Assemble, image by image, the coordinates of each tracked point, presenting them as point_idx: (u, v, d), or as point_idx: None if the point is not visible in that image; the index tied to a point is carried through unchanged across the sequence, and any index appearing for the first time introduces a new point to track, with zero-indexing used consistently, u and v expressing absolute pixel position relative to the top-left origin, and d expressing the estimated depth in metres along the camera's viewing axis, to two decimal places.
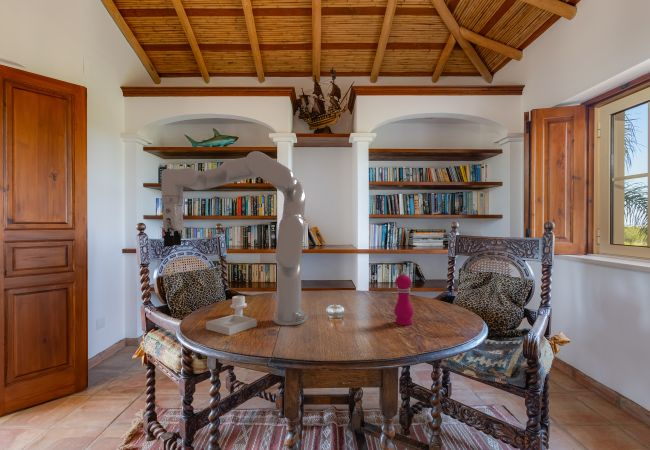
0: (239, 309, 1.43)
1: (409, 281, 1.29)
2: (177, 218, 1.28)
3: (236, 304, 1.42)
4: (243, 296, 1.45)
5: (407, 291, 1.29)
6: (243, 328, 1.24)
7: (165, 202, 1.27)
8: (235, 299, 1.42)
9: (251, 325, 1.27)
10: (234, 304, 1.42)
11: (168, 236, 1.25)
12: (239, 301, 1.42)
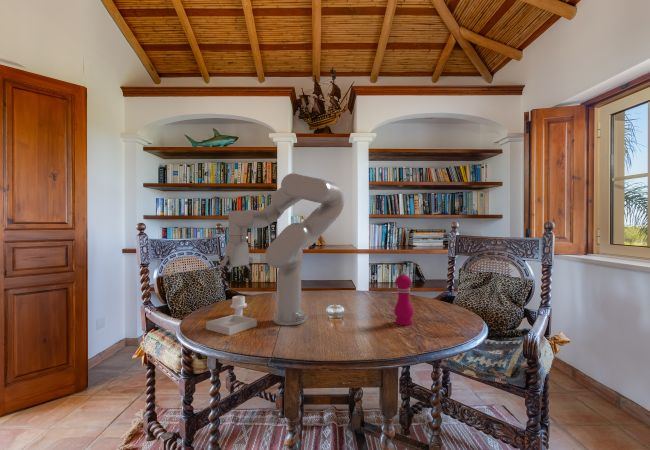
0: (239, 309, 1.43)
1: (409, 281, 1.29)
2: None
3: (236, 304, 1.42)
4: (243, 296, 1.45)
5: (407, 291, 1.29)
6: (243, 328, 1.24)
7: None
8: (235, 299, 1.42)
9: (251, 325, 1.27)
10: (234, 304, 1.42)
11: None
12: (239, 301, 1.42)
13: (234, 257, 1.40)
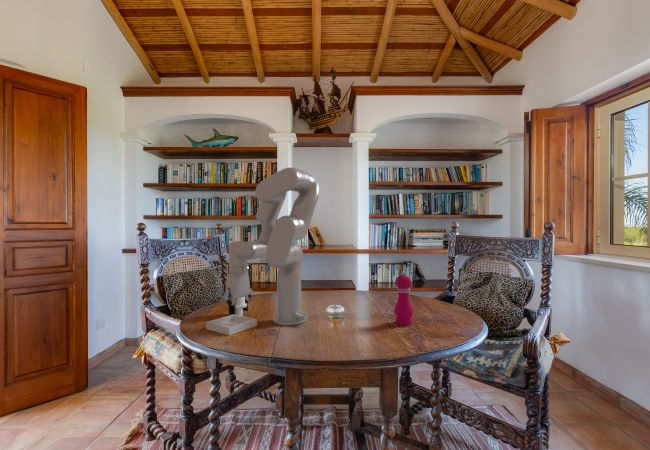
0: (239, 309, 1.43)
1: (409, 281, 1.29)
2: None
3: (236, 304, 1.42)
4: None
5: (407, 291, 1.29)
6: (243, 328, 1.24)
7: None
8: (235, 299, 1.42)
9: (251, 325, 1.27)
10: (234, 304, 1.42)
11: None
12: (239, 301, 1.42)
13: (235, 288, 1.40)
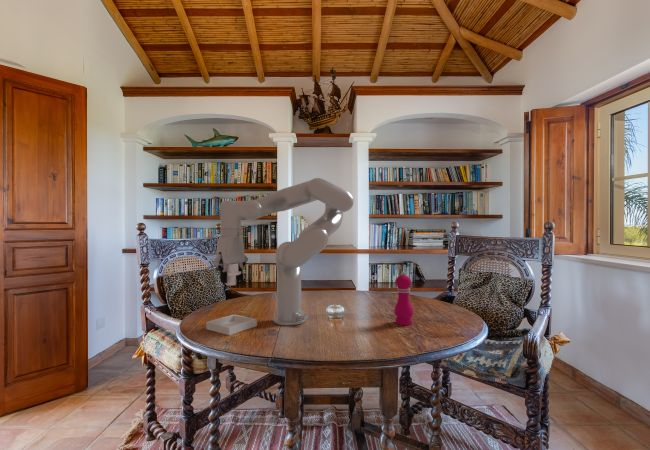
0: (232, 277, 1.26)
1: (409, 281, 1.29)
2: None
3: (228, 271, 1.25)
4: (236, 263, 1.29)
5: (407, 291, 1.29)
6: (243, 328, 1.24)
7: None
8: None
9: (251, 325, 1.27)
10: (226, 271, 1.26)
11: None
12: (232, 268, 1.26)
13: (226, 253, 1.24)
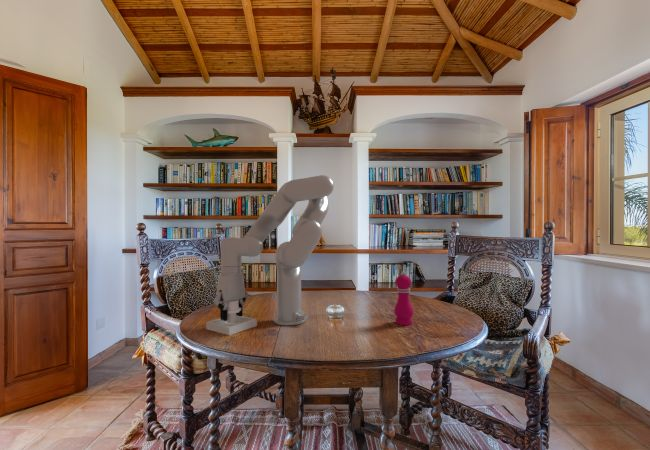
0: (232, 314, 1.26)
1: (409, 281, 1.29)
2: None
3: (228, 309, 1.25)
4: None
5: (407, 291, 1.29)
6: (243, 328, 1.24)
7: None
8: None
9: (251, 325, 1.27)
10: (226, 309, 1.25)
11: None
12: (232, 305, 1.25)
13: (227, 291, 1.23)
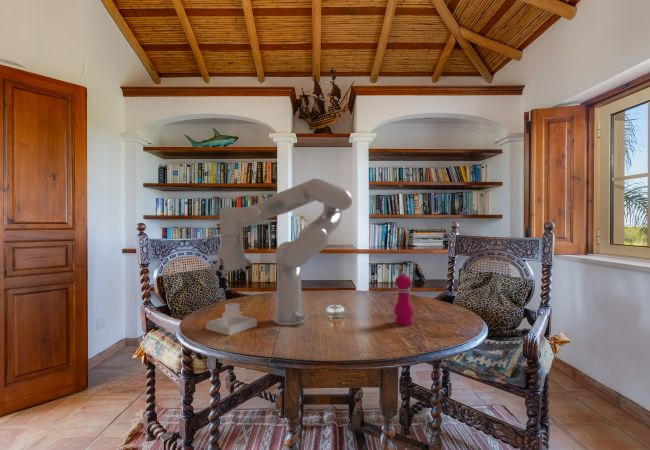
0: (232, 318, 1.26)
1: (409, 281, 1.29)
2: None
3: (229, 313, 1.25)
4: (237, 304, 1.28)
5: (407, 291, 1.29)
6: (243, 328, 1.24)
7: None
8: (228, 307, 1.25)
9: (251, 325, 1.27)
10: (227, 313, 1.25)
11: None
12: (232, 309, 1.25)
13: (227, 260, 1.23)
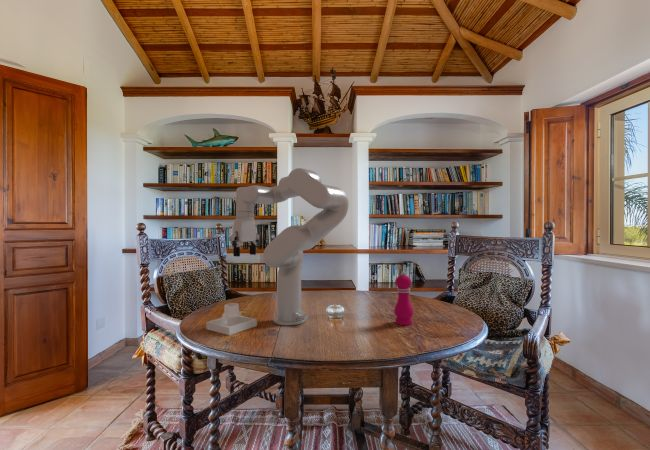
0: (232, 319, 1.26)
1: (409, 281, 1.29)
2: None
3: (229, 313, 1.25)
4: (237, 304, 1.28)
5: (407, 291, 1.29)
6: (243, 328, 1.24)
7: None
8: (227, 307, 1.25)
9: (251, 325, 1.27)
10: (226, 313, 1.25)
11: None
12: (232, 310, 1.25)
13: (242, 232, 1.42)
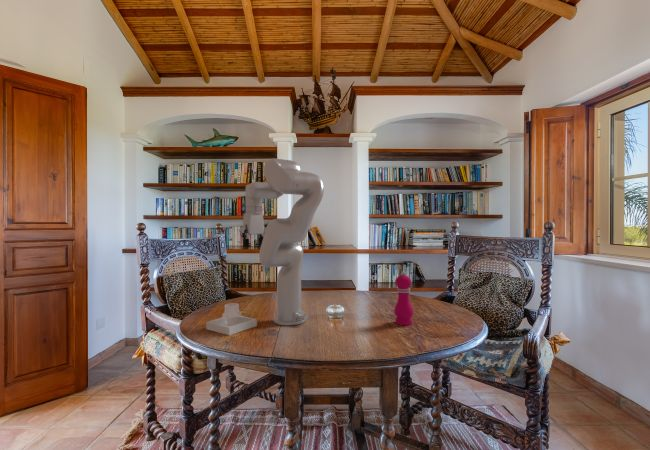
0: (232, 318, 1.26)
1: (409, 281, 1.29)
2: None
3: (229, 313, 1.25)
4: (237, 304, 1.28)
5: (407, 291, 1.29)
6: (243, 328, 1.24)
7: None
8: (228, 307, 1.25)
9: (251, 325, 1.27)
10: (227, 313, 1.25)
11: None
12: (232, 309, 1.25)
13: (251, 225, 1.56)
